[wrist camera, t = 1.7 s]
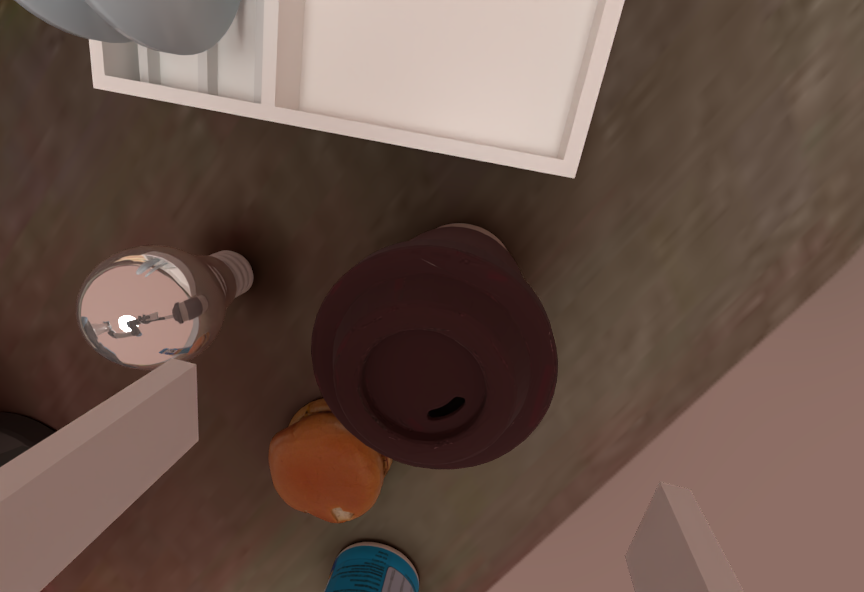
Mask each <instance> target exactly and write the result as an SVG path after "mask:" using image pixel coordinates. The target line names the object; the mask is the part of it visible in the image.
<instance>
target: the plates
mask: <svg viewBox="0 0 864 592" xmlns="http://www.w3.org/2000/svg"><path fill="white" fill-rule="evenodd" d="M15 1H16V2H17V3H18V4H20V5H21V6H22V7H24V8H25V9H26V10H27V11H29V12H30V13H32V14H34V15H35V16H37V17H38V18H40V19H42V20H43V21H45V22H46V23H48V24H50V25H52V26H54V27H56V28H58V29H60V30H62V31H64V32H67V33H70V34H73V35H76V36H79V37H82V38H86V39H92V40H97V41H103V42H109V43H126V42H131V41H134V42H136V43H137V44H139V45H141V46H144V47H146V48H149V49H152V50H155V51H159V52H165V53H171V54H176V55H194V54H198V53H201V52H204V51H206V50H208V49H210V48H211V47H213V46H214V45H215V44H216V43H217V42H219V41H220V40H221V38H222V37H223V36H224V35H225V34H226V32H227V31H228V29H229V27H230V26H231V24H232V22H233V20H234V18H235V15H236V13H237V11H238V8H239V4H240V1H241V0H15Z"/></svg>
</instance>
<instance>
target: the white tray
mask: <svg viewBox="0 0 864 592" xmlns="http://www.w3.org/2000/svg"><path fill="white" fill-rule="evenodd" d="M624 1H625V0H241V1H240V4H239V8H238V11H237V13H236V15H235V18H234V20H233V22H232V24H231V26H230V27H229V29H228V31H227V32H226V34H225V35H224V36H223V37H222V38H221V40H220V41H219V42H217V43H216V44H215V45H214V46H213V47H211V48H210V49H208V50H206V51H204V52H201V53H198V54H194V55H176V54H171V53H165V52H159V51H155V50H152V49H149V48H146V47H144V46H141V45H139V44H137V43H136V42H134V41H131V42H126V43H109V42H103V41H97V40H92V39H89V46H90V56H91V67H92V77H93V87H94V88H97V89H102V90H107V91H113V92H118V93H123V94H128V95H134V96H139V97H144V98H150V99H155V100H160V101H166V102H171V103H176V104H182V105H187V106H192V107H198V108H203V109H208V110H213V111H219V112H224V113H229V114H235V115H240V116H245V117H251V118H256V119H261V120H267V121H272V122H277V123H283V124H288V125H293V126H298V127H304V128H309V129H314V130H320V131H325V132H330V133H336V134H341V135H346V136H352V137H357V138H362V139H368V140H373V141H378V142H383V143H389V144H394V145H399V146H405V147H410V148H415V149H421V150H426V151H431V152H437V153H442V154H447V155H453V156H458V157H463V158H468V159H474V160H479V161H484V162H490V163H495V164H500V165H506V166H511V167H516V168H522V169H527V170H532V171H538V172H543V173H548V174H554V175H559V176H564V177H569V178H575V175H576V172H577V168H578V165H579V161H580V157H581V154H582V150H583V147H584V143H585V140H586V136H587V133H588V129H589V125H590V122H591V118H592V115H593V111H594V108H595V104H596V101H597V97H598V93H599V90H600V86H601V83H602V79H603V76H604V72H605V69H606V65H607V61H608V58H609V54H610V51H611V47H612V44H613V40H614V36H615V33H616V29H617V26H618V22H619V19H620V15H621V12H622V8H623V4H624Z"/></svg>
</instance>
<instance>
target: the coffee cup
mask: <svg viewBox="0 0 864 592" xmlns="http://www.w3.org/2000/svg"><path fill="white" fill-rule="evenodd" d="M311 354H312V361H313V369H314V374H315V378H316V381H317V384H318V386H319V388H320V391H321V393H322V396H323V398H324V400H325V402H326V403H327V405H328V407H329V408H330V410H331V411H332V413H333V414H334V415H335V417H336V418H337V419H338V420H339V422H340V423H341V424H342V425H343V426H344V427H345V428H346V429H347V430H348V431H349V432H350V433H351V434H352V435H354V436H355V437H356V438H357V439H358V440H360V441H361V442H362V443H363V444H365V445H366V446H368V447H370V448H371V449H373V450H374V451H376V452H378V453H380V454H382V455H384V456H386V457H388V458H390V459H393V460H396V461H398V462H401V463H404V464H407V465H411V466H415V467H423V468H430V469H459V468H466V467H473V466H477V465H480V464H484V463H487V462H489V461H492V460H494V459H496V458H498V457H500V456H502V455H504V454H506V453H508V452H509V451H511V450H512V449H514V448H515V447H516V446H518V445H519V444H520V443H521V442H523V441H524V440H525V439H526V438H527V437H528V436H529V435H530V434H531V433H532V432H533V431H534V430H535V428H536V427H537V426H538V424H539V423H540V422H541V420H542V419H543V417H544V415H545V414H546V412H547V410H548V408H549V406H550V403H551V401H552V398H553V395H554V391H555V387H556V382H557V373H558V359H557V351H556V345H555V341H554V337H553V333H552V329H551V325H550V322H549V319H548V317H547V314H546V312H545V310H544V308H543V306H542V304H541V302H540V300H539V298H538V297H537V296H536V294H535V293H534V291H533V290H532V288H531V287H530V286H529V285H528V284H527V282H526V281H525V280H524V279H523V278H522V275H521V273H520V270H519V268H518V266H517V264H516V262H515V261H514V259H513V257H512V256H511V255H510V254H509V252H508V250H507V249H506V247H505V246H504V245H503V243H502V242H501V241H500V240H499V239H498V238H497V237H496V236H495V235H493V234H492V233H490V232H489V231H487V230H485V229H483V228H481V227H479V226H475V225H471V224H465V223H453V224H447V225H443V226H440V227H438V228H436V229H432V230H429V231H426V232H424V233H422V234H420V235H418V236H416V237H415V238H413V239H411V240H410V241H405V242H400V243H396V244H393V245H390V246H387V247H385V248H382V249H380V250H378V251H376V252H374V253H372V254H370V255H369V256H367V257H366V258H365V259H363V260H362V261H360V262H359V263H358V264H356V265H355V266H354V267H353V268H352V269H350V270H349V271H348V272H347V273H346V274H344V275H343V276H342V277H341V278H340V279H339V280H338V281H337V283H336V284H335V285H334V286H333V287H332V288H331V290H330V291H329V293H328V294H327V296H326V297H325V299H324V301H323V303H322V305H321V307H320V309H319V311H318V314H317V316H316V320H315V324H314V328H313V333H312V345H311Z"/></svg>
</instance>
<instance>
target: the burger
mask: <svg viewBox="0 0 864 592" xmlns="http://www.w3.org/2000/svg"><path fill="white" fill-rule="evenodd" d="M391 464H392V459H390V458H388V457H386V456H384V455H382V454H380V453H378V452H376V451H374V450H373V449H371V448H370V447H368V446H366V445H365V444H363V443H362V442H361V441H360V440H358V439H357V438H356V437H355V436H354V435H352V434H351V433H350V432H349V431H348V430H347V429H346V428H345V427H344V426H343V425H342V424H341V423H340V422H339V420H338V419H337V418H336V417H335V415H334V414H333V413H332V411H331V410H330V408H329V407H328V405H327V403H326V402H325V400H324V398H323V399H318V400H316V401H313V402H310V403H309V404H307V405H305V406H304V407H302V408H301V409H300V410H299V411H298V412H297V413H296V414H295V415H294V417H293V418H292V420H291V422H290V424H289V426H288V427H287V428H285V429H283V430H281V431H280V432H278V433H276V435H275V436H274V437H273V438H272V440H271V443H270V447H269V467H270V471H271V476H272V480H273V485H274V487H275V489H276V490H277V492H278V494H279V495H280V496H281V498H282V499H283V500H284V501H285V502H286V503H287V504H288V505H289V506H291V507H292V508H294V509H296V510H299V511H302V512H304V513H307V512H308V513H310V514H312V515H314V516H316V517H318V518H320V519H323V520H325V521H328V522H330V523H343V522H346V521H350V520H352V519H355V518H357V517H360V516H361V515H363V514H364V513H365V512H367V511H368V510H369V509H371V507H372V506H373V505H374V503H375V502H376V500H377V498H378V496H379V494H380V491H381V487H382V485H383V479H384V477H385V475H386V474H387V472H388V470H389V469H390V466H391Z"/></svg>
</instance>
